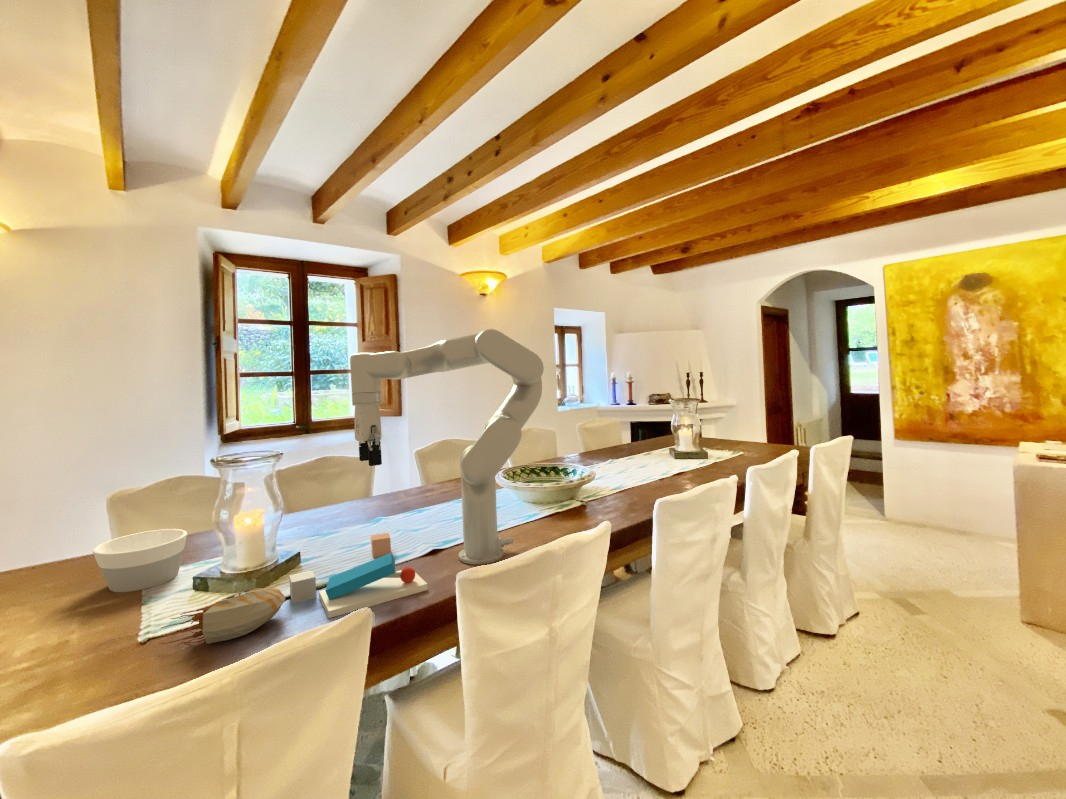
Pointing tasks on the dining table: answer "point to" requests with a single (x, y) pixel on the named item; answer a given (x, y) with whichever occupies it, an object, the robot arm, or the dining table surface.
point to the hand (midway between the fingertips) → (370, 462)
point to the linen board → (371, 595)
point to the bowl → (141, 559)
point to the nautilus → (233, 615)
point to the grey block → (302, 586)
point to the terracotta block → (380, 544)
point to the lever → (366, 576)
